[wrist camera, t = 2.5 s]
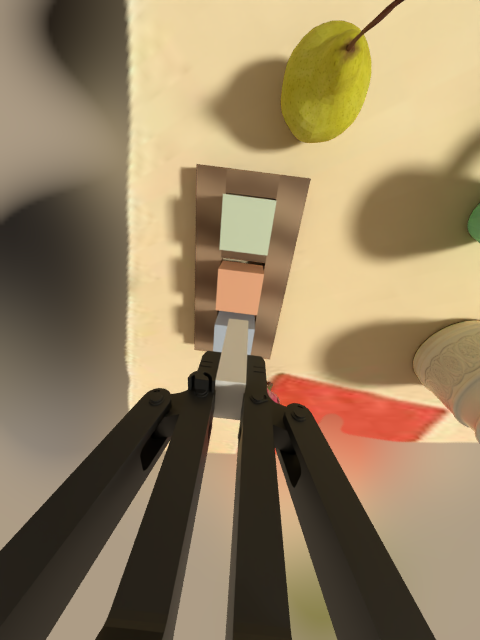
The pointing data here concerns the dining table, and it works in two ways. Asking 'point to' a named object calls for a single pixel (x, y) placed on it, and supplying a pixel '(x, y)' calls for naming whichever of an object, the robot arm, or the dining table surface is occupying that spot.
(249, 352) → the button slate
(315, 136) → the fruit
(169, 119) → the dining table surface
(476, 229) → the mug
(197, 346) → the button board
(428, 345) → the jar
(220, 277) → the button terracotta
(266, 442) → the robot arm
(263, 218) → the button sage
